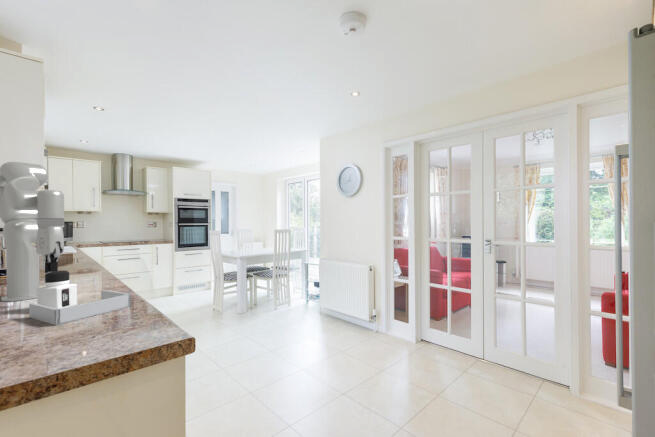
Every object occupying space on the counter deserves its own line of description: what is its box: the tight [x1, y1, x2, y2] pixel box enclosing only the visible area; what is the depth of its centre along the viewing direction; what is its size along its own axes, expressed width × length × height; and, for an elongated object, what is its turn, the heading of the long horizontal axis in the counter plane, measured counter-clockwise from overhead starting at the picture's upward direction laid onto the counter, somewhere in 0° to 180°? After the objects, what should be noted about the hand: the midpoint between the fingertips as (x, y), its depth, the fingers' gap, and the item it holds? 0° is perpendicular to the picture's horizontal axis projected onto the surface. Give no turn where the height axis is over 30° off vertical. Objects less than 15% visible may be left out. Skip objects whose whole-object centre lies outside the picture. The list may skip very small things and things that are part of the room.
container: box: [36, 270, 78, 309], centre depth 109 cm, size 8×8×13 cm
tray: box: [28, 289, 132, 326], centre depth 105 cm, size 17×22×4 cm
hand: (51, 272), depth 115 cm, fingers closed
